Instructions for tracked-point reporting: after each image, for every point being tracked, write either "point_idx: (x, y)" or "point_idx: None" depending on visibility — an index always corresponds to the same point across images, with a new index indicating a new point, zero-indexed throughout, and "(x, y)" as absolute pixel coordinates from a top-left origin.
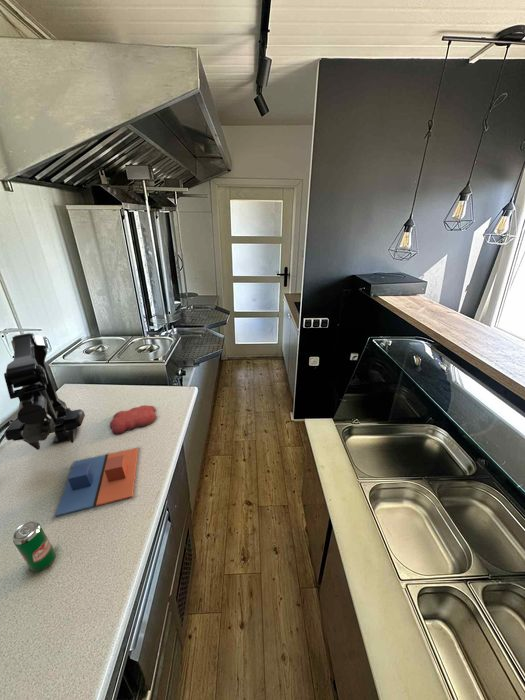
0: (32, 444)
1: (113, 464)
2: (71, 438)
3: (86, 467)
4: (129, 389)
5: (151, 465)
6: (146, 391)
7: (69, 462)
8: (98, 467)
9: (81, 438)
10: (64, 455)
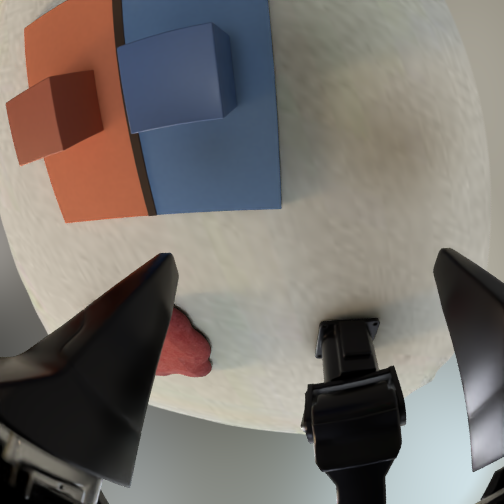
0: (500, 290)
1: (30, 112)
2: (126, 285)
3: (132, 95)
4: (214, 416)
5: (13, 145)
6: (168, 402)
7: (307, 214)
8: (158, 148)
9: (292, 318)
10: (336, 257)
